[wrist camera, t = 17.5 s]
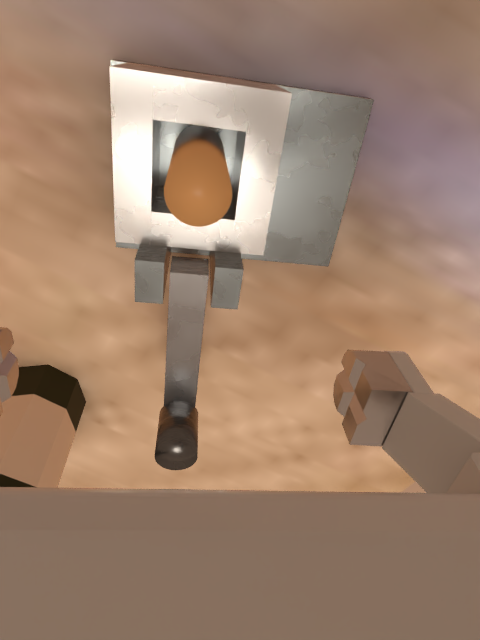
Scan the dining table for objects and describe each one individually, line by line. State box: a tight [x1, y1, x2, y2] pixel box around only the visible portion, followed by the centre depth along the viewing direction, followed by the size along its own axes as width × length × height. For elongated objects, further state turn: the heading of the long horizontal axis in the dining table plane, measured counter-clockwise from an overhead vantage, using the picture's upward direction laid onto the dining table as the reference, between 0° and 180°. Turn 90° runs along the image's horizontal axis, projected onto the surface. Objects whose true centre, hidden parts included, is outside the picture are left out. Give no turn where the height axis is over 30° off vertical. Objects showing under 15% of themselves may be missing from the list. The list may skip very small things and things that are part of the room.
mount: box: [110, 60, 374, 309], centre depth 28 cm, size 18×13×10 cm
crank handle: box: [155, 256, 208, 470], centre depth 29 cm, size 3×14×6 cm, turn 173°
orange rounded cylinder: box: [164, 125, 232, 227], centre depth 26 cm, size 4×4×10 cm
